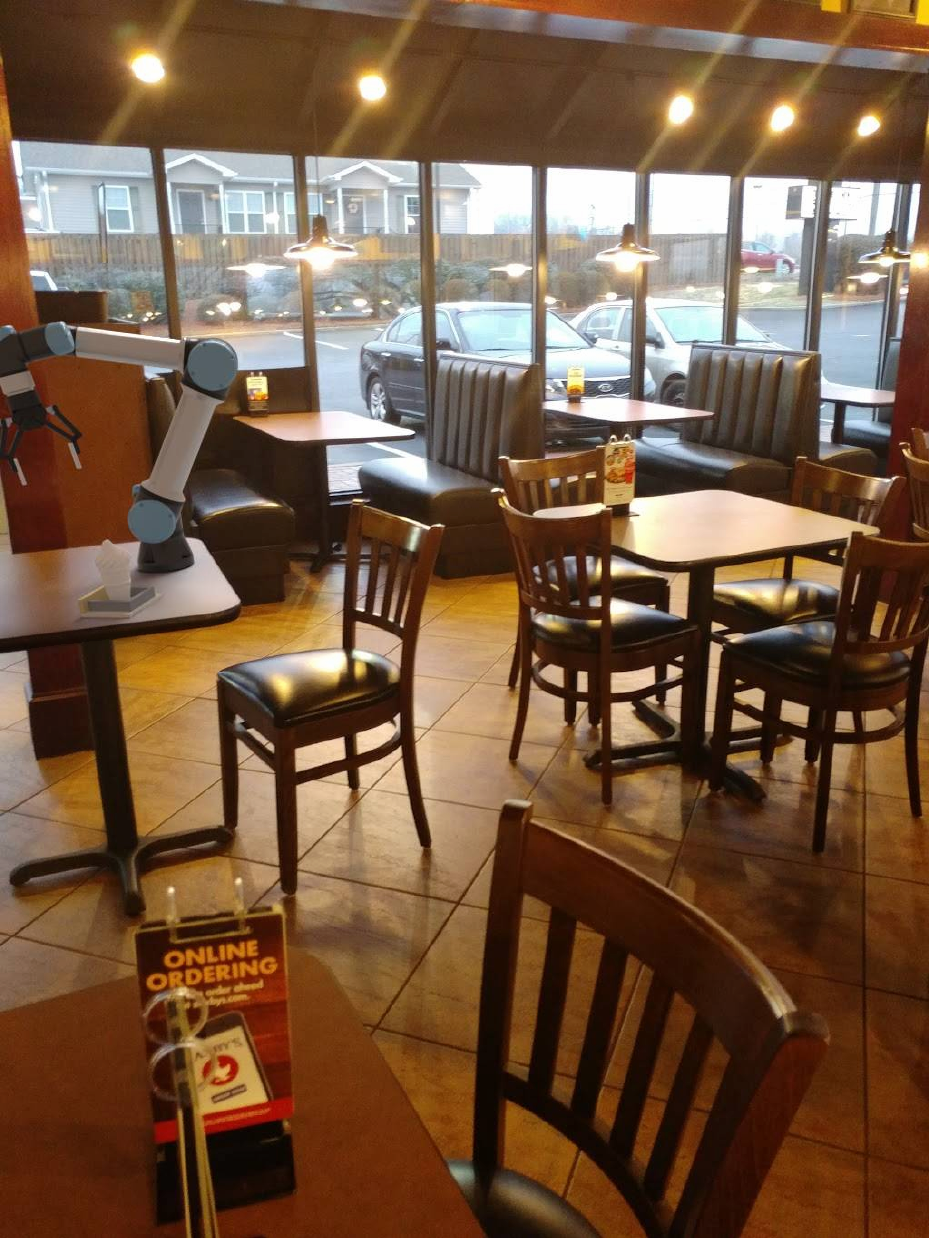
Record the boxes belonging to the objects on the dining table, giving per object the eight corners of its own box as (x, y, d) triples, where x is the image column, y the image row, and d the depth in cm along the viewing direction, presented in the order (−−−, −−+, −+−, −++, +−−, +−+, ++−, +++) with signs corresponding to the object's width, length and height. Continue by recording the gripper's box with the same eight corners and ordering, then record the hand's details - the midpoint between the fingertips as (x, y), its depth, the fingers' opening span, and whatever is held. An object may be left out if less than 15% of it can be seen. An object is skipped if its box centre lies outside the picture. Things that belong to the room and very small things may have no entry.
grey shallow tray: (162, 596, 253) (159, 580, 251) (130, 617, 238) (127, 600, 236) (115, 596, 255) (112, 579, 254) (80, 617, 240) (77, 599, 239)
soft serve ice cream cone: (140, 596, 251) (129, 533, 246) (137, 606, 243) (125, 541, 238) (105, 600, 249) (93, 537, 244) (100, 610, 242) (88, 545, 237)
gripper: (68, 379, 256) (98, 461, 263) (-35, 406, 245) (-1, 490, 252) (74, 378, 250) (104, 462, 256) (-32, 405, 239) (2, 492, 246)
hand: (52, 476), depth 254 cm, fingers open, 13 cm apart
